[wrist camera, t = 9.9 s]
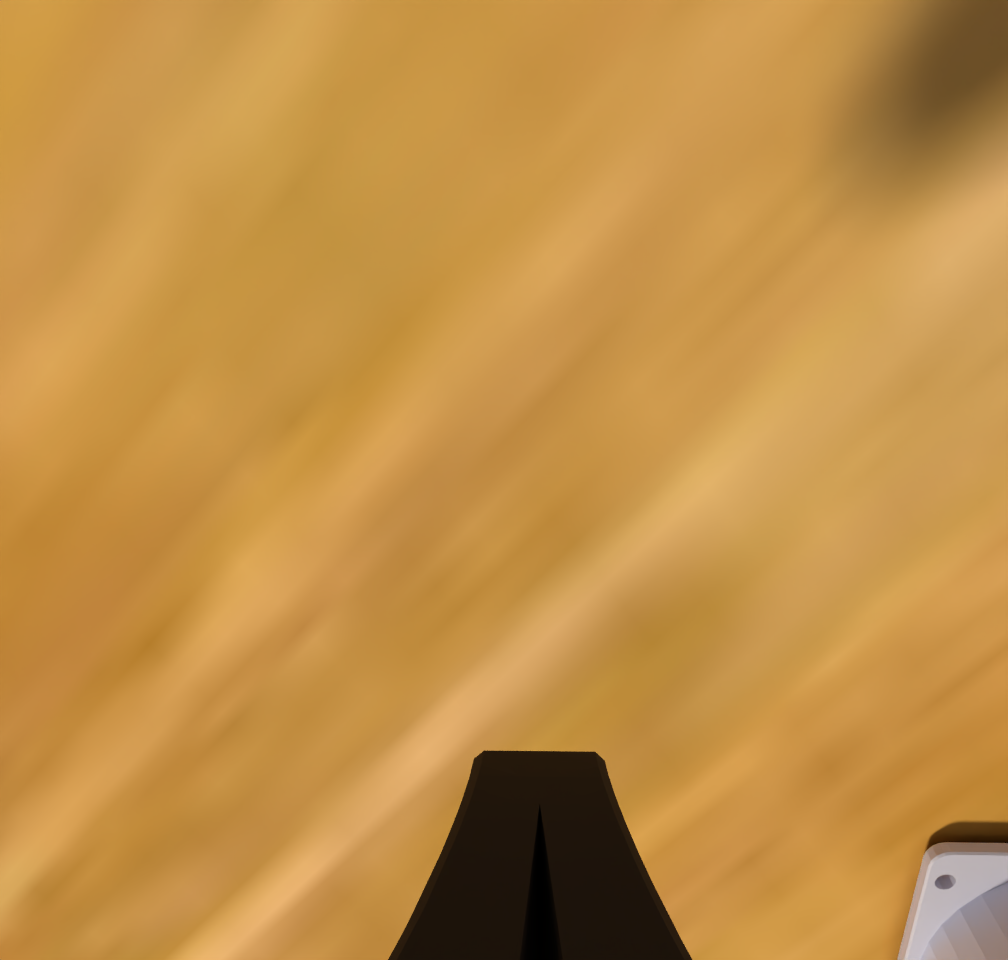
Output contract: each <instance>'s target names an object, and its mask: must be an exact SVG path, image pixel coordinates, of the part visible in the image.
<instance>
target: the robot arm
mask: <svg viewBox="0 0 1008 960" xmlns="http://www.w3.org/2000/svg"><path fill="white" fill-rule="evenodd" d="M941 875H942V876H941ZM388 960H692V958H691V957H690V955H689V953H688V951H687V949H686V947H685V946H684V944H683V942H682V940H681V938H680V936H679V934H678V932H677V930H676V928H675V926H674V924H673V922H672V920H671V918H670V917H669V915H668V913H667V911H666V909H665V907H664V905H663V903H662V901H661V899H660V897H659V895H658V893H657V891H656V889H655V887H654V885H653V883H652V881H651V879H650V877H649V875H648V872H647V870H646V868H645V866H644V864H643V862H642V860H641V857H640V855H639V853H638V851H637V848H636V846H635V844H634V841H633V839H632V837H631V834H630V832H629V830H628V827H627V825H626V823H625V820H624V818H623V815H622V812H621V810H620V807H619V805H618V802H617V799H616V797H615V794H614V791H613V788H612V785H611V782H610V779H609V776H608V772H607V768H606V764H605V761H604V760H603V759H602V758H601V757H600V756H599V755H598V754H597V753H596V752H561V751H483V752H482V753H481V754H479V755H478V756H477V757H476V758H474V761H473V765H472V769H471V774H470V777H469V781H468V784H467V787H466V790H465V793H464V796H463V799H462V802H461V805H460V807H459V810H458V813H457V815H456V818H455V821H454V823H453V825H452V828H451V830H450V833H449V835H448V838H447V840H446V842H445V845H444V847H443V850H442V852H441V854H440V857H439V859H438V861H437V863H436V865H435V867H434V869H433V871H432V874H431V876H430V878H429V880H428V882H427V884H426V886H425V888H424V891H423V893H422V895H421V897H420V899H419V901H418V903H417V905H416V907H415V910H414V912H413V914H412V916H411V918H410V920H409V922H408V924H407V926H406V928H405V930H404V932H403V934H402V935H401V937H400V939H399V941H398V943H397V945H396V946H395V948H394V950H393V952H392V954H391V956H390V957H389V959H388ZM897 960H1008V843H968V842H943V843H937V844H935V845H933V846H931V847H930V848H929V849H928V850H927V851H926V852H925V854H924V856H923V860H922V864H921V867H920V871H919V875H918V879H917V883H916V887H915V891H914V895H913V899H912V903H911V907H910V911H909V915H908V919H907V923H906V927H905V931H904V935H903V939H902V943H901V947H900V951H899V955H898V959H897Z"/></svg>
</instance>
